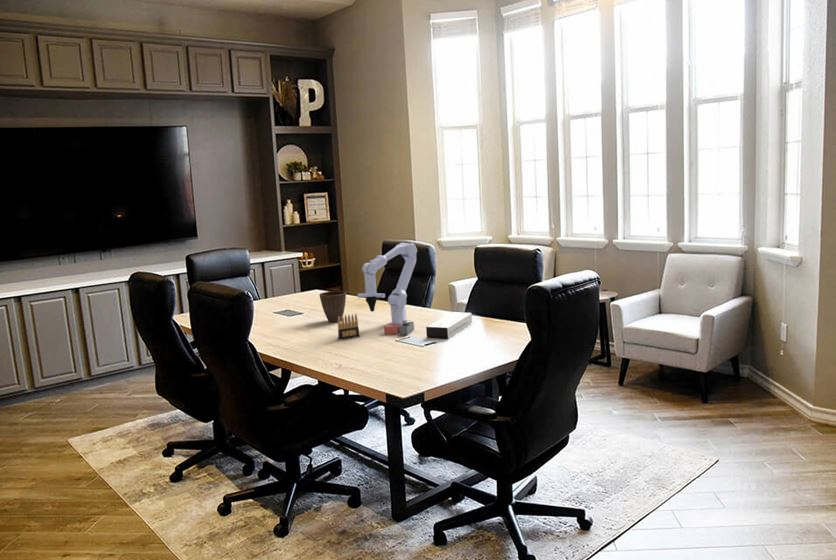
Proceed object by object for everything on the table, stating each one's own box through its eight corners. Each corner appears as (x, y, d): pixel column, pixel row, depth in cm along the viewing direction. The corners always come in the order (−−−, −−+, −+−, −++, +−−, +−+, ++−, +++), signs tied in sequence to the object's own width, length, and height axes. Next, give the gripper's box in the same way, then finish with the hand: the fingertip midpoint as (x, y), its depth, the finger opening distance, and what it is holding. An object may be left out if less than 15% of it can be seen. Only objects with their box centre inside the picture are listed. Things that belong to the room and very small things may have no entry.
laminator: (447, 340, 329) (447, 327, 328) (424, 339, 335) (424, 326, 334) (472, 324, 360) (471, 312, 359) (450, 323, 365) (449, 312, 364)
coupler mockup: (393, 329, 356) (393, 318, 355) (414, 329, 353) (413, 318, 352) (386, 335, 345) (385, 323, 344) (407, 335, 342) (406, 323, 341)
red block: (389, 330, 355) (389, 323, 354) (402, 330, 353) (402, 323, 352) (384, 334, 347) (384, 327, 347) (397, 334, 345) (397, 327, 345)
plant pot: (317, 324, 380) (315, 296, 377) (327, 318, 394) (325, 291, 391) (342, 324, 376) (340, 295, 373) (351, 318, 390) (349, 290, 388)
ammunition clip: (339, 339, 342) (337, 316, 340) (338, 339, 343) (336, 315, 341) (359, 336, 345) (358, 313, 343) (358, 336, 347) (356, 312, 345)
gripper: (354, 287, 356) (356, 312, 358) (381, 287, 352) (382, 312, 354) (359, 284, 363) (361, 309, 365) (385, 284, 359) (387, 309, 361)
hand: (372, 311), depth 360 cm, fingers closed
